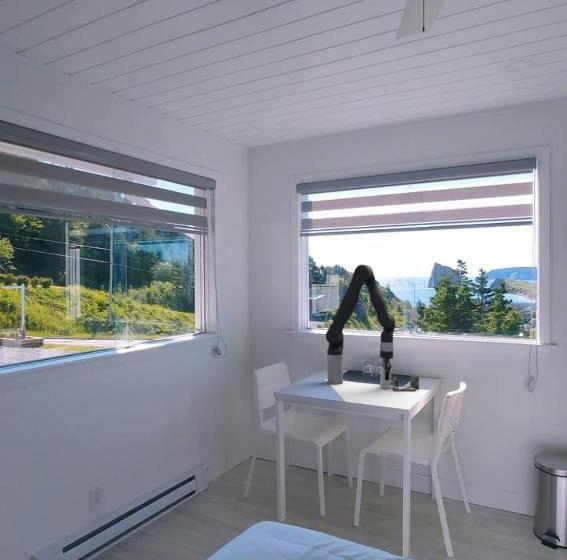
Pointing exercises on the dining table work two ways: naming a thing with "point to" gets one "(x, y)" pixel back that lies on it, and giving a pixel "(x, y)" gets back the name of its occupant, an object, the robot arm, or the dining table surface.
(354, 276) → the robot arm
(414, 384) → the test stand
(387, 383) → the force gauge
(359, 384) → the dining table surface
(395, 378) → the gauge plunger
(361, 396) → the dining table surface
